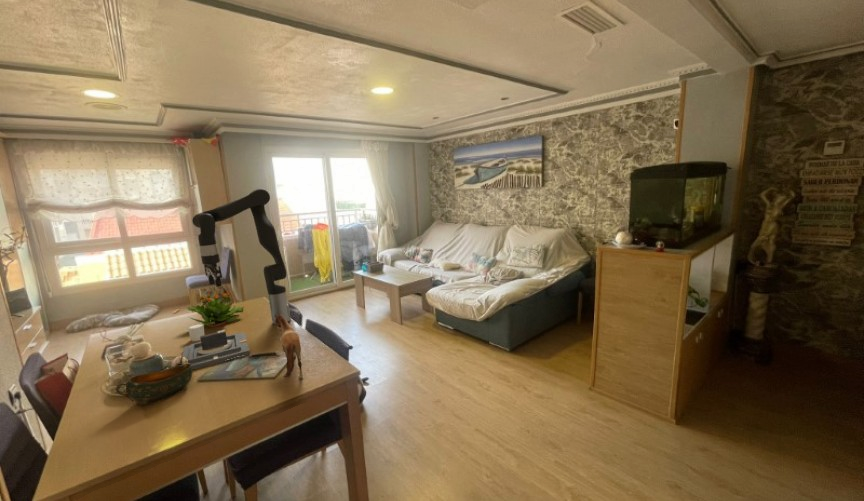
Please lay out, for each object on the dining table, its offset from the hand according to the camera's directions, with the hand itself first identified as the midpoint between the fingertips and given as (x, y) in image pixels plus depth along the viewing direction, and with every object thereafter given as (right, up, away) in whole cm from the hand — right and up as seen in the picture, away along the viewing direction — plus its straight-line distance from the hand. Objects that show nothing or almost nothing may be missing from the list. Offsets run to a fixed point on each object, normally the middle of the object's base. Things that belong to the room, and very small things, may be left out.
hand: (215, 285), depth 175 cm
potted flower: (-15, -25, +25) cm, 39 cm away
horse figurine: (+50, -32, -34) cm, 68 cm away
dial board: (+8, -30, -12) cm, 34 cm away
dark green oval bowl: (+8, -37, -46) cm, 59 cm away
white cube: (-13, -29, +6) cm, 32 cm away
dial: (+8, -28, -12) cm, 32 cm away
